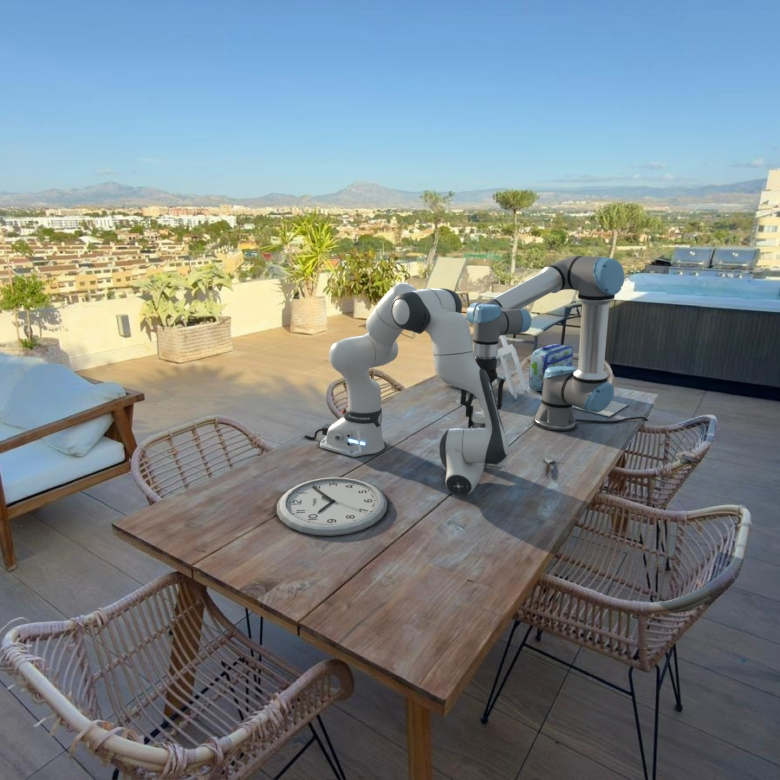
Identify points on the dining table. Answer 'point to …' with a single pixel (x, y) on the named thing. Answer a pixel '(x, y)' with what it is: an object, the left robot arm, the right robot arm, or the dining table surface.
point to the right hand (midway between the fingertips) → (479, 427)
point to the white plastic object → (502, 357)
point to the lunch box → (548, 362)
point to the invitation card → (609, 408)
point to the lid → (477, 417)
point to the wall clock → (331, 506)
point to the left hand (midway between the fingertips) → (478, 445)
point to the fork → (548, 462)
